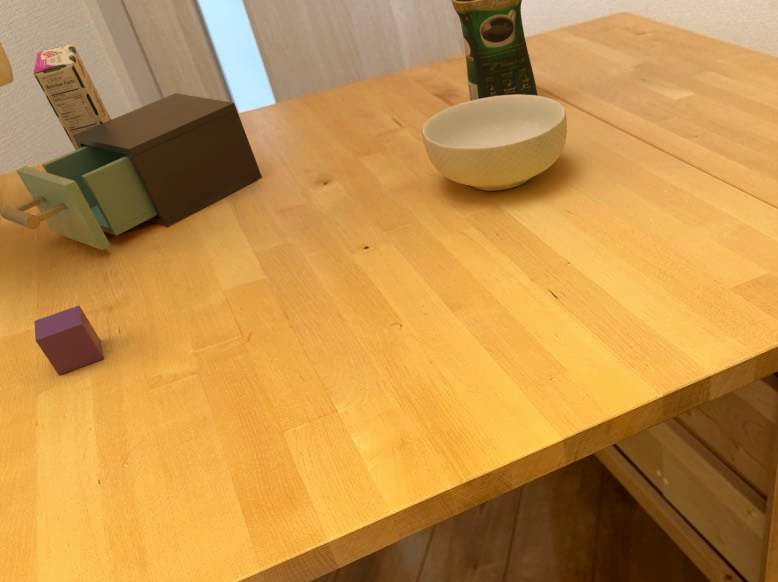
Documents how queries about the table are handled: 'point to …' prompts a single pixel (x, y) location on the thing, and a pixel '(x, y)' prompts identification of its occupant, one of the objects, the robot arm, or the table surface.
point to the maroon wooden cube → (68, 340)
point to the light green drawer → (84, 196)
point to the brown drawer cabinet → (181, 152)
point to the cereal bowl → (496, 140)
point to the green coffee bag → (495, 48)
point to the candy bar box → (69, 90)
